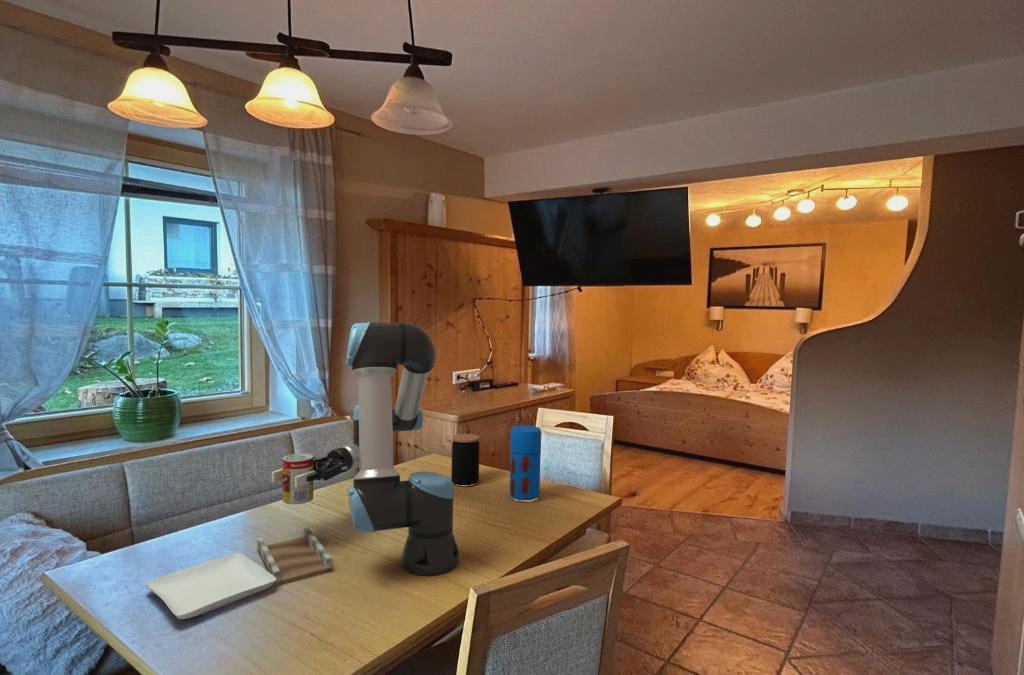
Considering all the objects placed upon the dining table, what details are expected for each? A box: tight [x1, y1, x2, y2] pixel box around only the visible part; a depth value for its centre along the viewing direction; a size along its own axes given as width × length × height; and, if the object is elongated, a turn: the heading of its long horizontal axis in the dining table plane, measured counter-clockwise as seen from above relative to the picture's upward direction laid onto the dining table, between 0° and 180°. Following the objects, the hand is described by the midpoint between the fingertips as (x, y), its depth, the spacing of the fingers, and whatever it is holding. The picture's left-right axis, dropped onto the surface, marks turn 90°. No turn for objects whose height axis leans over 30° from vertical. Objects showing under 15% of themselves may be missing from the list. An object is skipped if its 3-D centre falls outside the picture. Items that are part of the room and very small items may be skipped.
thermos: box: [509, 425, 542, 500], centre depth 188 cm, size 11×11×25 cm
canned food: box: [282, 453, 314, 506], centre depth 146 cm, size 8×8×12 cm
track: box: [256, 527, 332, 587], centre depth 138 cm, size 22×13×4 cm, turn 35°
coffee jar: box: [450, 433, 481, 485], centre depth 203 cm, size 11×11×18 cm
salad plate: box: [145, 552, 276, 620], centre depth 122 cm, size 21×21×3 cm
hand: (284, 479), depth 142 cm, fingers closed on canned food, 8 cm apart
